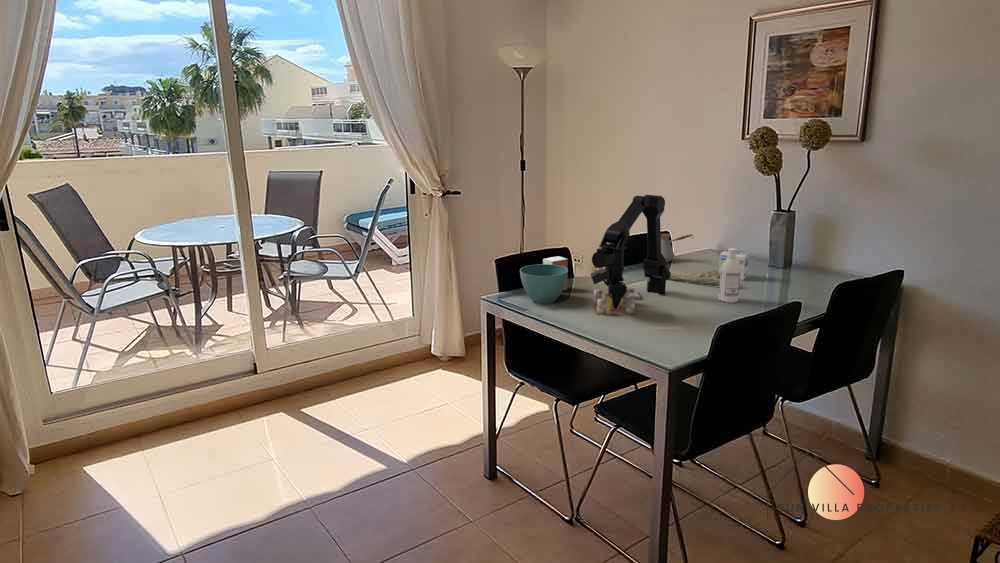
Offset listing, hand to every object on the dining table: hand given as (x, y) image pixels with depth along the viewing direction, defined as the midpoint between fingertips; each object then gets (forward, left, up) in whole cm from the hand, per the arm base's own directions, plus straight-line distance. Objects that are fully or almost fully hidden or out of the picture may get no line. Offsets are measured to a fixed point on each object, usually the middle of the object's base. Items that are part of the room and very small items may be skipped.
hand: (613, 304), depth 226 cm
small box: (+20, -27, -2) cm, 34 cm away
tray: (-6, -16, -2) cm, 17 cm away
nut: (0, 0, -1) cm, 1 cm away
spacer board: (0, 0, -2) cm, 2 cm away
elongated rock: (-39, -39, -3) cm, 56 cm away
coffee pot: (-37, -73, -2) cm, 82 cm away
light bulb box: (-57, -45, -2) cm, 73 cm away
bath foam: (-45, -12, -2) cm, 47 cm away
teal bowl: (+25, -12, -2) cm, 28 cm away
